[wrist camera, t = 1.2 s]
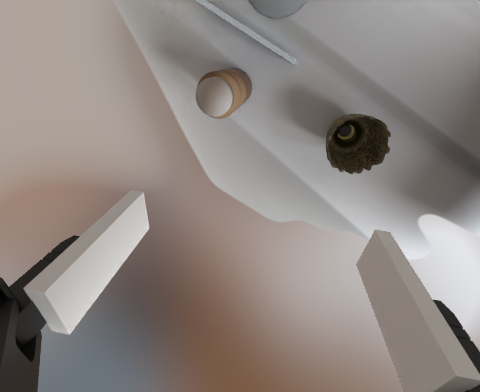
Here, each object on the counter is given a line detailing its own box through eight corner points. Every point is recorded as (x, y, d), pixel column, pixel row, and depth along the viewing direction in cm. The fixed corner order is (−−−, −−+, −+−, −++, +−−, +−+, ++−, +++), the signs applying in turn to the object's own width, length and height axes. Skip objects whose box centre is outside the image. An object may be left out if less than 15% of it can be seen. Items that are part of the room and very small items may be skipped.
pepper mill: (257, 80, 34) (243, 88, 24) (242, 110, 37) (223, 129, 26) (228, 61, 33) (201, 62, 23) (215, 94, 36) (185, 106, 26)
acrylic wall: (296, 59, 32) (297, 59, 28) (293, 64, 32) (294, 64, 29) (202, -2, 30) (190, -10, 27) (200, 3, 31) (189, -4, 27)
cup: (319, 110, 34) (325, 122, 28) (373, 100, 32) (395, 111, 26) (320, 156, 38) (327, 177, 31) (369, 150, 36) (387, 171, 29)
